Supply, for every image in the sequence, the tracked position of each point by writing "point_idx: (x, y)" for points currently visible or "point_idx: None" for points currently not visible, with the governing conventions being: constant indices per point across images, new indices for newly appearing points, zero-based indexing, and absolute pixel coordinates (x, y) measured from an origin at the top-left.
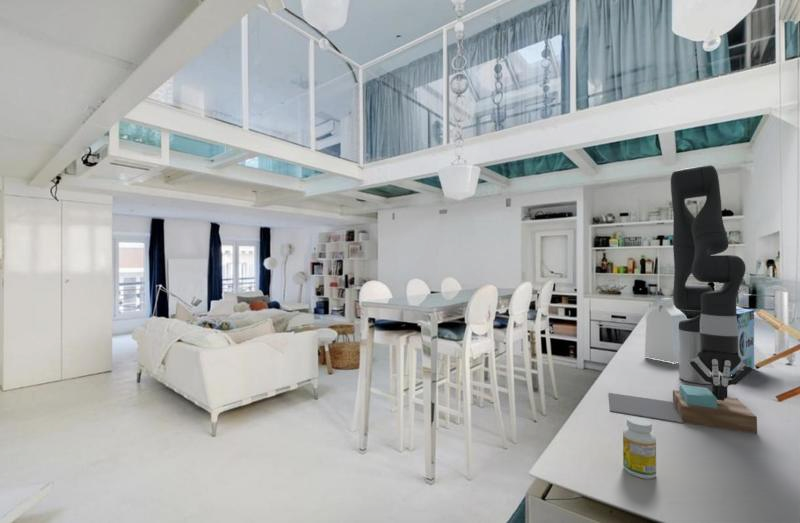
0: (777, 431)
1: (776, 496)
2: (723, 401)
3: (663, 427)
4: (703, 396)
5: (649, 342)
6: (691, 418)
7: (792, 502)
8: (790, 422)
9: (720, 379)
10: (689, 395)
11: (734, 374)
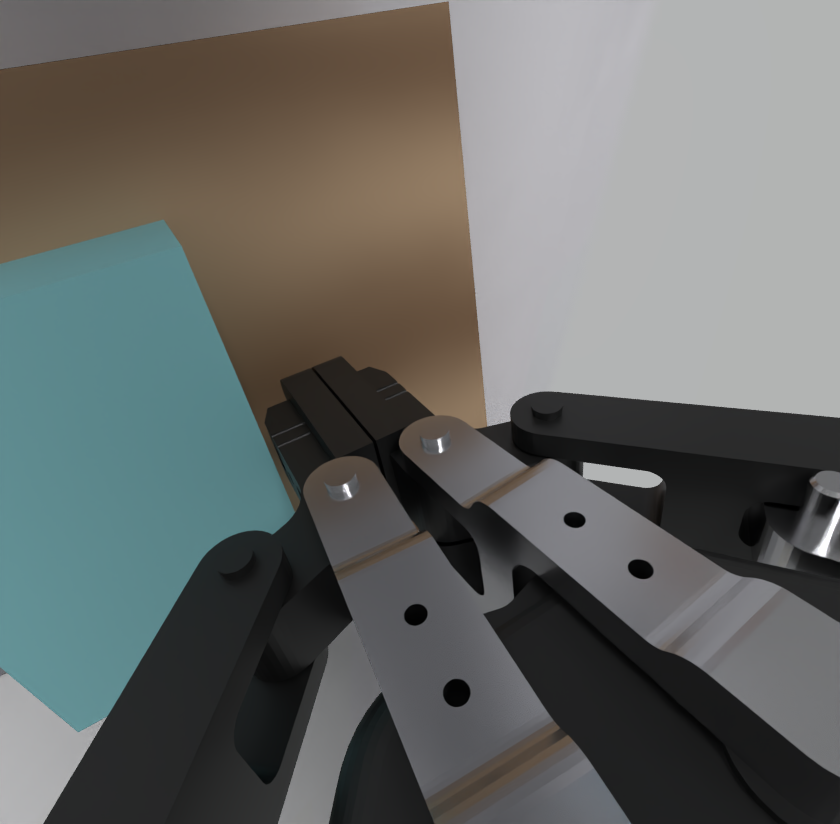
0: (525, 303)
1: None
2: (330, 278)
3: (20, 769)
4: None
5: None
6: None
7: None
8: (638, 21)
9: (436, 490)
10: (101, 708)
11: (651, 464)
